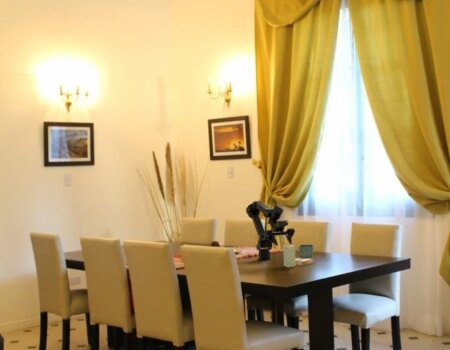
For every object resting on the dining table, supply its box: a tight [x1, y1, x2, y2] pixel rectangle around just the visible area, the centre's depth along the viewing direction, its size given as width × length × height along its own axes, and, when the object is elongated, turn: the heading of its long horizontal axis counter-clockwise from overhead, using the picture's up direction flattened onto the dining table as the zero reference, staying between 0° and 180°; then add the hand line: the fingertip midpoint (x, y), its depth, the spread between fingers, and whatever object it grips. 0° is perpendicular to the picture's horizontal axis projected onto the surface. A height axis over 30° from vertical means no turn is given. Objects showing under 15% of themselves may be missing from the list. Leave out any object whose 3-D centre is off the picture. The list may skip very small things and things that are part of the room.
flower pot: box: [298, 244, 315, 259], centre depth 389 cm, size 9×9×9 cm
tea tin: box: [282, 244, 297, 268], centre depth 367 cm, size 5×5×12 cm
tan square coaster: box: [295, 257, 314, 267], centre depth 375 cm, size 11×11×3 cm
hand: (284, 244), depth 372 cm, fingers open, 9 cm apart
